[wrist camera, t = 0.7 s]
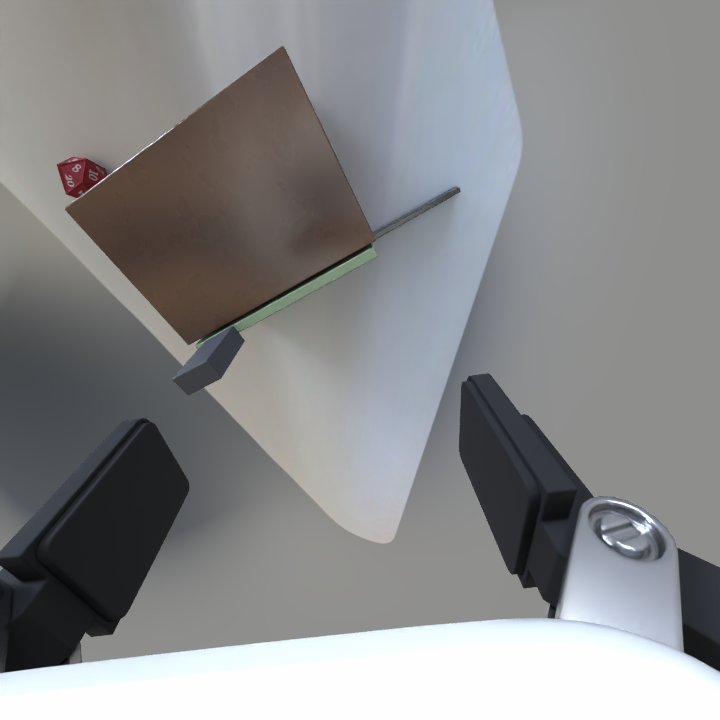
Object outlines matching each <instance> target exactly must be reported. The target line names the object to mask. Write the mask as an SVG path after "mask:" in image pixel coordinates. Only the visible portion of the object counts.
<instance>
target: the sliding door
mask: <svg viewBox="0 0 720 720" xmlns="http://www.w3.org/2000/svg"><path fill="white" fill-rule="evenodd" d="M376 257H377V254H376V251H375V249H374V247H373V245H372V243H370V244H369V245H367V246H365V247H363V248H362V249H360V250H358V251H356V252H354V253H353V254H351V255H349V256H347V257H345V258H344V259H342V260H340V261H338V262H337V263H335V264H333V265H331V266H329V267H328V268H326V269H324V270H322V271H320V272H319V273H317V274H315V275H313V276H311V277H310V278H308V279H306V280H304V281H303V282H301V283H299V284H297V285H295V286H294V287H292V288H290V289H288V290H286V291H285V292H283V293H281V294H279V295H278V296H276V297H274V298H272V299H270V300H269V301H267V302H265V303H263V304H261V305H260V306H258V307H256V308H254V309H252V310H251V311H249V312H247V313H245V314H244V315H242V316H240V317H238V318H236V319H235V320H233V321H231V322H229V323H227V324H226V325H224V326H222V327H220V328H218V329H217V330H215V331H213V332H211V333H210V334H208V335H206V336H204V337H203V338H202V339H201V340H200V341H199V342H198V343H197V344H196V346H195V347H196V348H197V349H198V350H197V351H196V352H195V354H194V355H193V356H192V357H191V358H190V359H189V360H188V362H187V363H186V364H185V365H184V366H183V367H182V368H181V370H180V371H179V372H178V373H177V374H176V375H175V376H174V378H173V379H172V380H173V381H174V382H175V383H176V384H177V385H178V386H179V387H180V388H181V389H182V390H183V391H184V392H185V393H186V394H187V395H190V394H192V393H194V392H196V391H198V390H200V389H202V388H204V387H205V386H207V385H209V384H211V383H213V382H215V381H217V380H219V379H221V378H222V376H223V375H224V373H225V371H226V370H227V368H228V367H229V365H230V363H231V362H232V360H233V359H234V357H235V355H236V354H237V352H238V351H239V349H240V348H241V346H242V344H243V343H244V341H245V340H244V339H243V338H242V336H241V335H240V334H239V332H241V331H243V330H244V329H246V328H248V327H250V326H252V325H253V324H255V323H257V322H259V321H261V320H263V319H264V318H266V317H268V316H270V315H272V314H274V313H275V312H277V311H279V310H281V309H283V308H285V307H286V306H288V305H290V304H292V303H294V302H296V301H297V300H299V299H301V298H303V297H305V296H306V295H308V294H310V293H312V292H314V291H316V290H317V289H319V288H321V287H323V286H325V285H327V284H328V283H330V282H332V281H334V280H336V279H338V278H339V277H341V276H343V275H345V274H347V273H349V272H350V271H352V270H354V269H356V268H358V267H359V266H361V265H363V264H365V263H367V262H369V261H370V260H372V259H374V258H376Z"/></svg>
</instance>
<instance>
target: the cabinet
mask: <svg viewBox="0 0 720 720" xmlns="http://www.w3.org/2000/svg"><path fill="white" fill-rule="evenodd" d="M459 192H460V188H459V187H454V188H452V189H451V190H449V191H447V192H445V193H444V194H442V195H440V196H438V197H436V198H435V199H433V200H431V201H429V202H428V203H426V204H424V205H422V206H421V207H419V208H417V209H415V210H413V211H412V212H410V213H408V214H406V215H405V216H403V217H401V218H399V219H398V220H396V221H394V222H392V223H390V224H389V225H387V226H385V227H383V228H382V229H380V230H378V231H376V232H375V233H372V231H371V229H370V226H369V224H368V222H367V220H366V218H365V216H364V214H363V212H362V210H361V208H360V205H359V203H358V201H357V199H356V197H355V195H354V193H353V191H352V189H351V186H350V184H349V182H348V180H347V178H346V176H345V174H344V172H343V170H342V168H341V165H340V163H339V161H338V159H337V157H336V155H335V153H334V151H333V149H332V146H331V144H330V142H329V140H328V138H327V136H326V134H325V132H324V130H323V128H322V125H321V123H320V121H319V119H318V117H317V115H316V113H315V111H314V109H313V106H312V104H311V102H310V100H309V98H308V96H307V94H306V92H305V90H304V88H303V85H302V83H301V81H300V79H299V77H298V75H297V73H296V71H295V69H294V66H293V64H292V62H291V60H290V58H289V56H288V54H287V52H286V50H285V48H284V46H282V47H280V48H279V49H278V50H276V51H275V52H274V53H272V54H271V55H270V56H268V57H267V58H266V59H264V60H263V61H262V62H260V63H259V64H258V65H256V66H255V67H253V68H252V69H251V70H249V71H248V72H247V73H245V74H244V75H243V76H241V77H240V78H239V79H237V80H236V81H235V82H233V83H232V84H231V85H229V86H228V87H227V88H225V89H224V90H223V91H221V92H220V93H219V94H217V95H216V96H215V97H213V98H212V99H210V100H209V101H208V102H206V103H205V104H204V105H202V106H201V107H200V108H198V109H197V110H196V111H194V112H193V113H192V114H190V115H189V116H188V117H186V118H185V119H184V120H182V121H181V122H180V123H178V124H177V125H176V126H174V127H173V128H171V129H170V130H169V131H167V132H166V133H165V134H163V135H162V136H161V137H159V138H158V139H157V140H155V141H154V142H153V143H151V144H150V145H149V146H147V147H146V148H145V149H143V150H142V151H141V152H139V153H138V154H137V155H135V156H134V157H133V158H131V159H130V160H128V161H127V162H126V163H124V164H123V165H122V166H120V167H119V168H118V169H116V170H115V171H114V172H112V173H111V174H110V175H108V176H107V177H106V178H104V179H103V180H102V181H100V182H99V183H98V184H96V185H95V186H94V187H92V188H91V189H89V190H88V191H87V192H85V193H84V194H83V195H81V196H80V197H79V198H77V199H76V200H75V201H73V202H72V203H71V204H69V205H68V206H67V207H65V210H66V211H67V212H68V214H69V215H70V216H71V217H72V218H73V219H74V220H75V221H76V222H77V223H78V225H79V226H80V227H81V228H82V229H83V230H84V231H85V232H86V233H87V234H88V235H89V237H90V238H91V239H92V240H93V241H94V242H95V243H96V244H97V245H98V246H99V248H100V249H101V250H102V251H103V252H104V253H105V254H106V255H107V256H108V257H109V258H110V260H111V261H112V262H113V263H114V264H115V265H116V266H117V267H118V268H119V269H120V271H121V272H122V273H123V274H124V275H125V276H126V277H127V278H128V279H129V280H130V281H131V283H132V284H133V285H134V286H135V287H136V288H137V289H138V290H139V291H140V292H141V294H142V295H143V296H144V297H145V298H146V299H147V300H148V301H149V302H150V303H151V304H152V306H153V307H154V308H155V309H156V310H157V311H158V312H159V313H160V314H161V315H162V317H163V318H164V319H165V320H166V321H167V322H168V323H169V324H170V325H171V326H172V328H173V329H174V330H175V331H176V332H177V333H178V334H179V335H180V336H181V337H182V338H183V340H184V341H185V342H186V343H187V344H188V345H190V344H192V343H193V342H195V341H197V340H199V339H201V338H202V337H204V336H206V335H208V334H210V333H211V332H213V331H215V330H217V329H218V328H220V327H222V326H224V325H226V324H227V323H229V322H231V321H233V320H235V319H236V318H238V317H240V316H242V315H244V314H245V313H247V312H249V311H251V310H252V309H254V308H256V307H258V306H260V305H261V304H263V303H265V302H267V301H269V300H270V299H272V298H274V297H276V296H278V295H279V294H281V293H283V292H285V291H286V290H288V289H290V288H292V287H294V286H295V285H297V284H299V283H301V282H303V281H304V280H306V279H308V278H310V277H311V276H313V275H315V274H317V273H319V272H320V271H322V270H324V269H326V268H328V267H329V266H331V265H333V264H335V263H337V262H338V261H340V260H342V259H344V258H345V257H347V256H349V255H351V254H353V253H354V252H356V251H358V250H360V249H362V248H363V247H365V246H367V245H369V244H370V243H372V242H374V241H375V240H376V239H377V238H379V237H380V236H382V235H384V234H386V233H388V232H389V231H391V230H393V229H395V228H396V227H398V226H400V225H402V224H404V223H405V222H407V221H409V220H411V219H412V218H414V217H416V216H418V215H420V214H421V213H423V212H425V211H427V210H429V209H430V208H432V207H434V206H436V205H437V204H439V203H441V202H443V201H445V200H446V199H448V198H450V197H452V196H454V195H455V194H457V193H459Z"/></svg>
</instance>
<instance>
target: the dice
mask: <svg viewBox="0 0 720 720" xmlns="http://www.w3.org/2000/svg"><path fill="white" fill-rule="evenodd" d="M57 167H58V170H59V174H60V177H61V180H62V183H63V186H64V189H65V192H66V194H67V195H70V196H73V197H75V198H79V197H80V196H81V195H83V194H84V193H85V192H87V191H88V190H89V189H91V188H92V187H94V186H95V185H96V184H98V183H99V182H100V181H102V180H103V179H104V178H106V177H107V176H108V175H107V173H106V170H105V168H103V167H101V166H99V165H97V164H95V163H93V162H92V161H90V160H88V159H86V158H77V157H72V158H70V159H67V160H65V161H63V162H61V163H59V164H57Z"/></svg>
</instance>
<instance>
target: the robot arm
mask: <svg viewBox="0 0 720 720" xmlns="http://www.w3.org/2000/svg"><path fill="white" fill-rule="evenodd" d="M459 452H460V456H461V459H462V462H463V464H464V467H465V469H466V471H467V474H468V476H469V479H470V481H471V483H472V486H473V488H474V490H475V493H476V495H477V497H478V500H479V502H480V505H481V507H482V509H483V512H484V513H485V516H486V519H487V521H488V523H489V526H490V528H491V531H492V533H493V535H494V538H495V540H496V542H497V544H498V547H499V550H500V552H501V554H502V557H503V559H504V561H505V564H506V566H507V568H508V570H509V572H510V573H511V574H517V575H518V577H519V579H520V581H521V583H522V586H523V588H531V587H538V590H539V592H540V594H541V596H542V598H543V600H545V601H546V602H548V603H549V604H548V609H547V613H546V618H533V619H532V618H529V619H499V620H488V621H475V622H464V623H451V624H439V625H428V626H417V627H407V628H397V629H388V630H378V631H369V632H360V633H350V634H341V635H330V636H321V637H312V638H303V639H293V640H283V641H274V642H265V643H256V644H247V645H238V646H228V647H219V648H210V649H201V650H192V651H183V652H174V653H165V654H156V655H148V656H139V657H131V658H122V659H113V660H105V661H96V662H87V663H82V656H81V644H80V641H81V639H82V637H83V635H84V634H85V632H86V633H87V634H88V635H90V636H91V637H94V636H102V635H112V634H113V633H114V631H115V628H116V627H117V625H118V623H119V621H120V619H121V618H122V617H124V616H125V615H126V614H127V612H128V610H129V609H130V607H131V605H132V603H133V601H134V599H135V597H136V595H137V593H138V591H139V589H140V587H141V585H142V583H143V581H144V579H145V577H146V575H147V573H148V571H149V569H150V567H151V565H152V563H153V561H154V560H155V558H156V555H157V553H158V552H159V550H160V547H161V546H162V544H163V541H164V540H165V538H166V536H167V534H168V532H169V530H170V528H171V526H172V524H173V522H174V520H175V518H176V516H177V514H178V512H179V510H180V508H181V506H182V504H183V502H184V500H185V498H186V496H187V494H188V492H189V482H188V480H187V478H186V476H185V475H184V473H183V471H182V469H181V468H180V466H179V464H178V463H177V461H176V459H175V457H174V456H173V454H172V452H171V451H170V449H169V447H168V445H167V444H166V442H165V440H164V439H163V437H162V435H161V434H160V432H159V430H158V428H157V427H156V425H155V424H154V423H152V422H150V421H149V420H147V419H144V418H142V419H134V420H126V421H123V422H121V423H120V424H119V425H118V426H117V427H116V428H115V429H114V430H113V431H112V432H111V433H110V435H109V436H108V437H107V438H106V439H105V440H104V441H103V442H102V443H101V444H100V445H99V446H98V447H97V449H95V451H94V452H93V453H92V454H91V455H90V456H89V457H88V458H87V459H86V460H85V461H84V463H82V464H81V466H80V467H79V468H78V469H77V470H76V471H75V472H74V473H73V474H72V475H71V476H70V477H69V478H68V479H67V480H66V482H65V483H64V484H63V485H62V486H61V487H60V488H59V489H58V490H57V491H56V492H55V493H54V494H53V495H52V497H51V498H50V499H49V500H48V501H47V502H46V503H45V504H44V505H43V506H42V507H41V508H40V509H39V510H38V512H37V513H36V514H35V515H34V516H33V517H32V518H31V519H30V520H29V521H28V522H27V523H26V524H25V525H24V526H23V527H22V529H21V530H20V531H19V532H18V533H17V534H16V535H15V536H14V537H13V538H12V539H11V540H10V541H9V542H8V543H7V545H6V546H5V547H4V548H3V549H2V550H1V551H0V566H2V567H3V569H2V570H1V571H0V720H720V567H718V566H715V565H713V564H711V563H709V562H707V561H705V560H702V559H700V558H698V557H696V556H694V555H692V554H689V553H687V552H685V551H683V550H681V549H678V548H677V547H676V543H675V540H674V539H673V537H672V535H671V534H670V532H669V531H668V529H667V528H666V527H665V526H664V525H663V524H662V523H661V522H660V521H659V520H658V519H657V518H656V517H655V516H653V515H652V514H650V513H649V512H647V511H646V510H644V509H643V508H641V507H639V506H637V505H635V504H633V503H631V502H629V501H626V500H623V499H619V498H615V497H607V496H598V497H593V495H592V494H591V493H590V492H589V490H588V489H587V488H586V487H585V485H584V484H583V483H582V482H581V480H580V479H579V478H578V476H576V474H575V473H574V471H573V470H572V469H571V468H570V466H569V465H568V464H567V463H566V461H565V460H564V459H563V458H562V456H561V455H560V454H559V453H558V451H557V450H556V449H555V448H554V446H553V445H552V444H551V442H550V441H549V440H548V439H547V437H546V436H545V435H544V434H543V432H542V431H541V430H540V429H539V427H538V426H537V425H536V424H535V423H534V421H533V420H532V419H531V418H530V417H529V416H528V415H525V414H524V415H521V414H520V413H519V412H518V410H517V409H516V408H515V406H514V405H513V404H512V403H511V401H510V400H509V398H508V397H507V396H506V395H505V393H504V392H503V391H502V389H501V388H500V387H499V385H498V384H497V383H496V382H495V380H494V379H493V378H492V376H491V375H490V374H481V375H473V376H469V377H468V379H467V381H465V382H462V386H461V410H460V435H459Z"/></svg>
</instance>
